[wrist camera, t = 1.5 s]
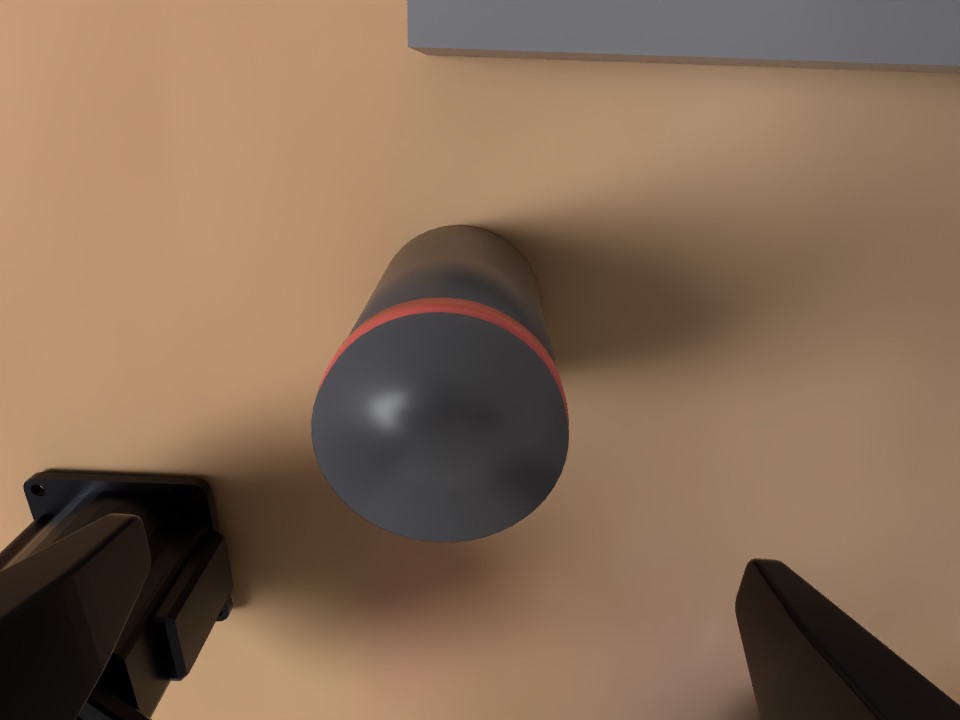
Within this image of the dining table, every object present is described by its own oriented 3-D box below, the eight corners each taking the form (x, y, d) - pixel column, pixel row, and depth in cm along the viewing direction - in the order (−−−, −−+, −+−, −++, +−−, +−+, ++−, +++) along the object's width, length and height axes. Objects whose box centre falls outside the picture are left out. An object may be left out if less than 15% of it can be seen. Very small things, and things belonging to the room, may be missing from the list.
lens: (381, 375, 20) (319, 539, 13) (375, 220, 18) (297, 312, 11) (535, 381, 20) (559, 548, 13) (547, 226, 18) (584, 323, 11)
